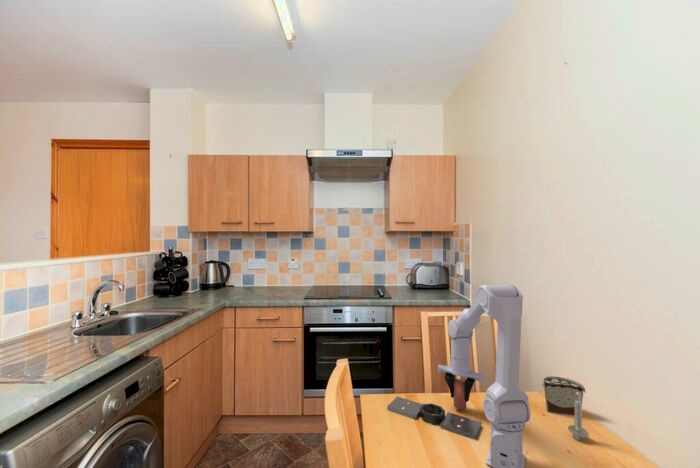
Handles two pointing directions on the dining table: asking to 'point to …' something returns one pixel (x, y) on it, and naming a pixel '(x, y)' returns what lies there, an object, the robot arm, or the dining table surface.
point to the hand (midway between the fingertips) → (459, 398)
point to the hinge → (436, 416)
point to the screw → (578, 420)
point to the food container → (561, 394)
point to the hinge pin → (459, 394)
